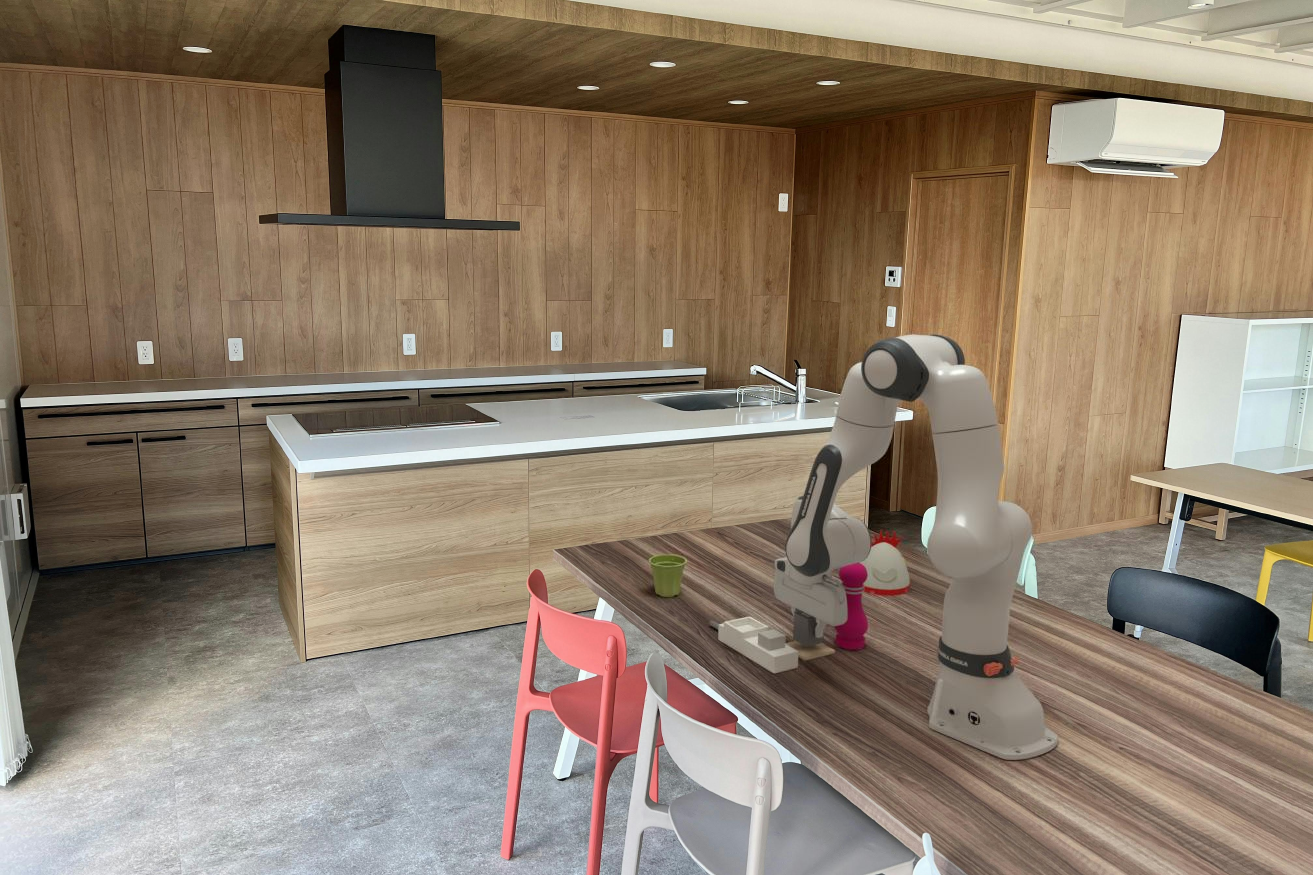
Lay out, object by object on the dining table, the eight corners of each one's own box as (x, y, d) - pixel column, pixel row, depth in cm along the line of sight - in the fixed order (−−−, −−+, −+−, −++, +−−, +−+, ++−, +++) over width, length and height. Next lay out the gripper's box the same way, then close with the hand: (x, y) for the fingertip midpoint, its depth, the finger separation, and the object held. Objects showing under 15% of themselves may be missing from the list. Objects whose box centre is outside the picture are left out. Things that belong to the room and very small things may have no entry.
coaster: (834, 652, 194) (834, 650, 194) (805, 660, 190) (805, 657, 190) (810, 639, 201) (810, 637, 201) (781, 647, 197) (781, 644, 197)
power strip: (799, 666, 187) (800, 639, 186) (772, 674, 183) (773, 645, 182) (723, 622, 210) (723, 597, 209) (697, 628, 207) (698, 603, 206)
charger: (823, 642, 194) (824, 614, 193) (806, 646, 192) (807, 618, 191) (809, 635, 198) (810, 608, 197) (793, 639, 196) (794, 612, 195)
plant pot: (686, 600, 225) (687, 566, 224) (648, 599, 225) (648, 565, 224) (686, 587, 234) (686, 554, 233) (649, 586, 235) (649, 554, 233)
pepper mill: (867, 652, 194) (871, 561, 191) (832, 649, 196) (836, 559, 192) (866, 639, 201) (871, 551, 198) (833, 636, 203) (836, 549, 199)
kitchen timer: (912, 597, 228) (915, 539, 226) (855, 593, 231) (858, 536, 228) (906, 579, 242) (909, 524, 239) (852, 576, 244) (855, 521, 242)
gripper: (856, 580, 185) (853, 645, 187) (792, 554, 202) (790, 614, 205) (832, 585, 182) (829, 651, 184) (769, 558, 199) (767, 619, 202)
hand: (808, 631), depth 195 cm, fingers closed on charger, 4 cm apart
